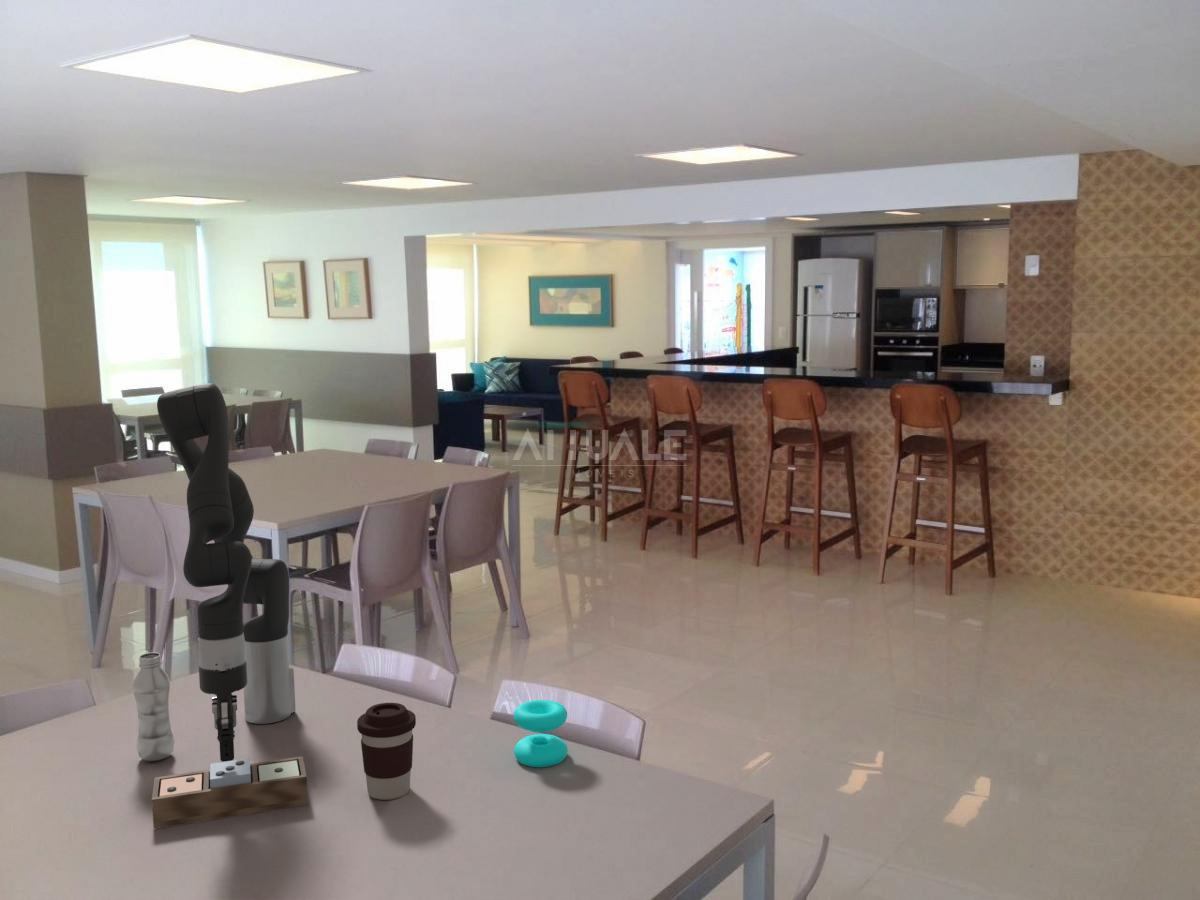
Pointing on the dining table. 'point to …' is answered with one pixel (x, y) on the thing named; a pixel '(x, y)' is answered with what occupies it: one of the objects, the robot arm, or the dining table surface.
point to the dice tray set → (229, 797)
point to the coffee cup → (387, 749)
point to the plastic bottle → (153, 709)
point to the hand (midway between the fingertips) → (227, 759)
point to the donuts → (540, 746)
